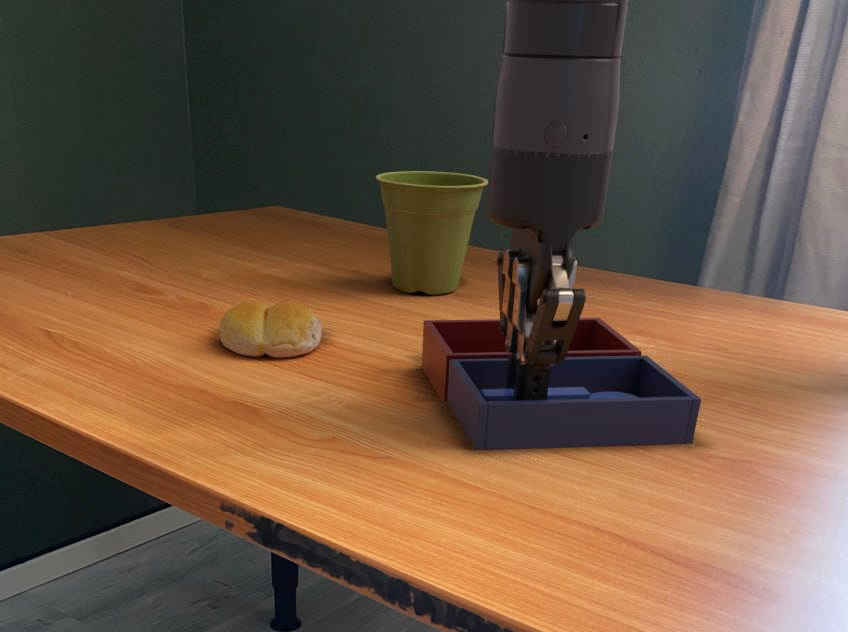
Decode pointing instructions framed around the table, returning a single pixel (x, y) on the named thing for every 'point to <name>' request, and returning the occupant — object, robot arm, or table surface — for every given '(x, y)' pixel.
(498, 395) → the spoon blue
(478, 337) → the red bin
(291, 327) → the bread roll
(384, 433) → the table surface
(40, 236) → the table surface
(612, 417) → the blue bin
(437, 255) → the plant pot
